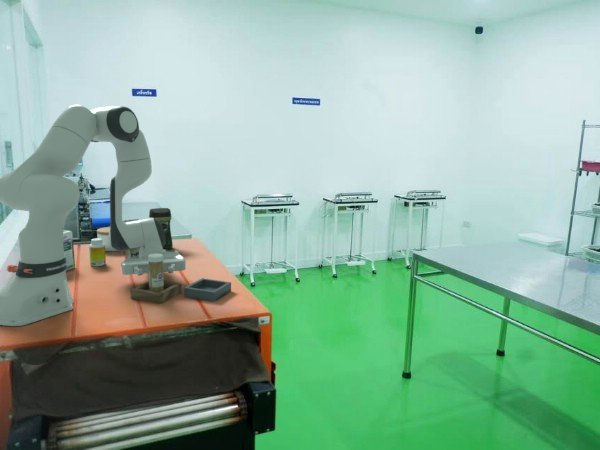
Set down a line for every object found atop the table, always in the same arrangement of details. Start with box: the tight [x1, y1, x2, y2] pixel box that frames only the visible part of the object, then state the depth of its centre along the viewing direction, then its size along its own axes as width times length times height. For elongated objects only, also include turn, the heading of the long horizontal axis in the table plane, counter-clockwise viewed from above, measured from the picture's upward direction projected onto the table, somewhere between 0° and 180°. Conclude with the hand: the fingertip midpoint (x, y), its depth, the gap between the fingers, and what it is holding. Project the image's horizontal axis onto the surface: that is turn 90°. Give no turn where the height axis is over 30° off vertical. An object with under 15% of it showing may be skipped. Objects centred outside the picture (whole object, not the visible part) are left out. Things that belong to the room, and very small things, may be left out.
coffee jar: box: [148, 207, 173, 250], centre depth 202 cm, size 10×8×19 cm
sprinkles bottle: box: [148, 254, 165, 292], centre depth 143 cm, size 5×5×13 cm
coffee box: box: [122, 218, 144, 260], centre depth 183 cm, size 9×6×16 cm
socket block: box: [130, 280, 182, 304], centre depth 144 cm, size 11×11×3 cm
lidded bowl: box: [96, 226, 119, 252], centre depth 200 cm, size 13×13×11 cm
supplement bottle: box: [88, 237, 107, 267], centre depth 175 cm, size 6×6×10 cm
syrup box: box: [63, 229, 76, 272], centre depth 168 cm, size 6×6×14 cm
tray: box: [183, 277, 232, 303], centre depth 147 cm, size 11×11×3 cm
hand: (155, 271), depth 144 cm, fingers open, 8 cm apart
